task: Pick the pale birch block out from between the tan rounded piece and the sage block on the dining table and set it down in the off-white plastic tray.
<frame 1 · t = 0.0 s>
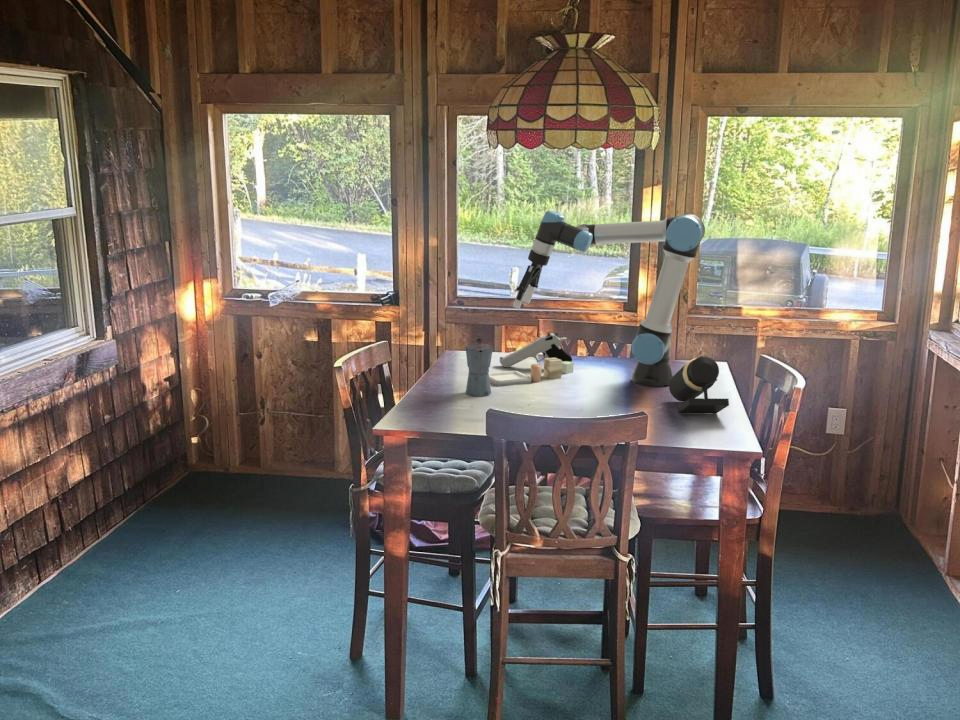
hand: (521, 305, 337), 28 cm above the table, tool tilted 20°, fingers open, 13 cm apart
tan rounded piece: (535, 381, 338), on the table
light fixture: (693, 410, 304), on the table
birch block: (552, 377, 344), on the table
handgun: (535, 369, 358), on the table
sage block: (565, 372, 352), on the table
tray: (507, 380, 337), on the table
moka pot: (477, 393, 319), on the table
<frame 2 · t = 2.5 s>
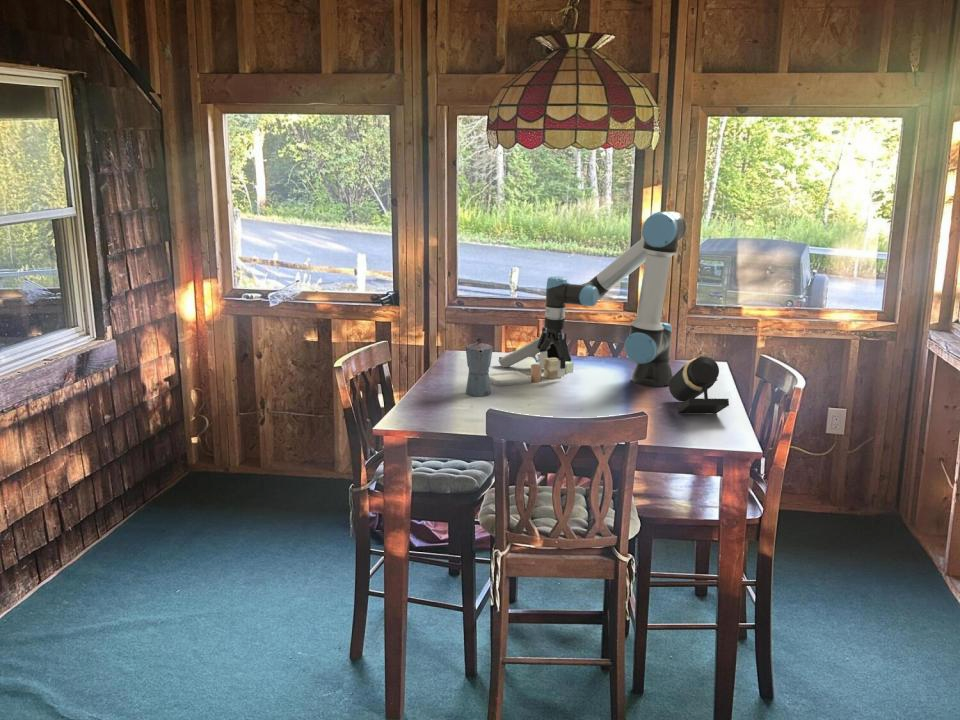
hand: (551, 372, 344), 2 cm above the table, tool pointing down, fingers open, 13 cm apart
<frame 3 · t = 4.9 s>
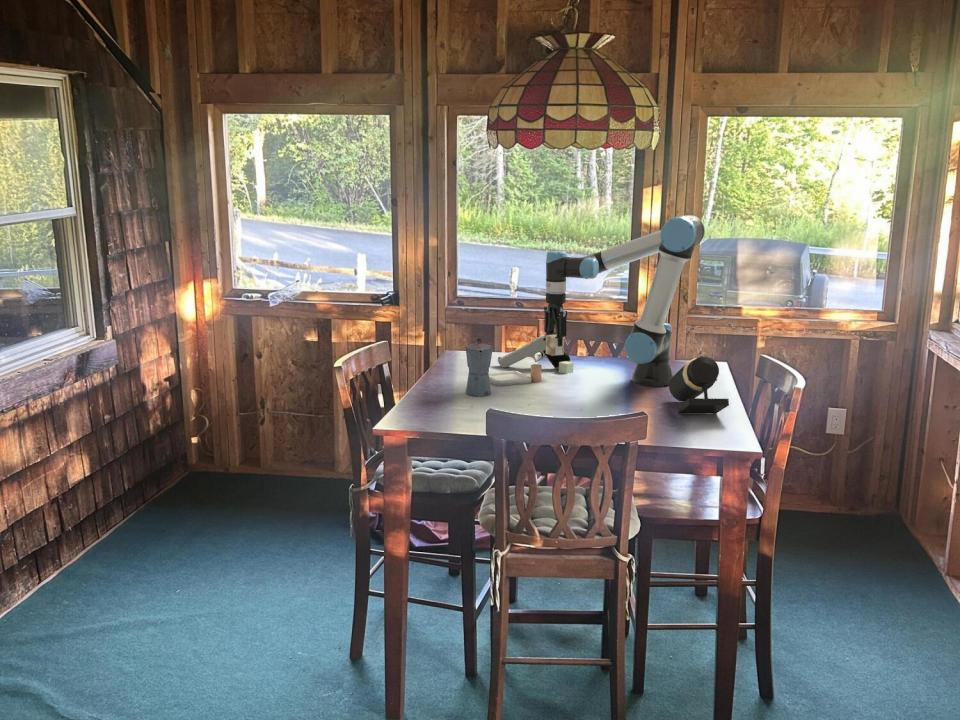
hand: (554, 353, 342), 10 cm above the table, tool pointing down, fingers closed on birch block, 5 cm apart
birch block: (554, 354, 342), point 9 cm above the table, touching gripper
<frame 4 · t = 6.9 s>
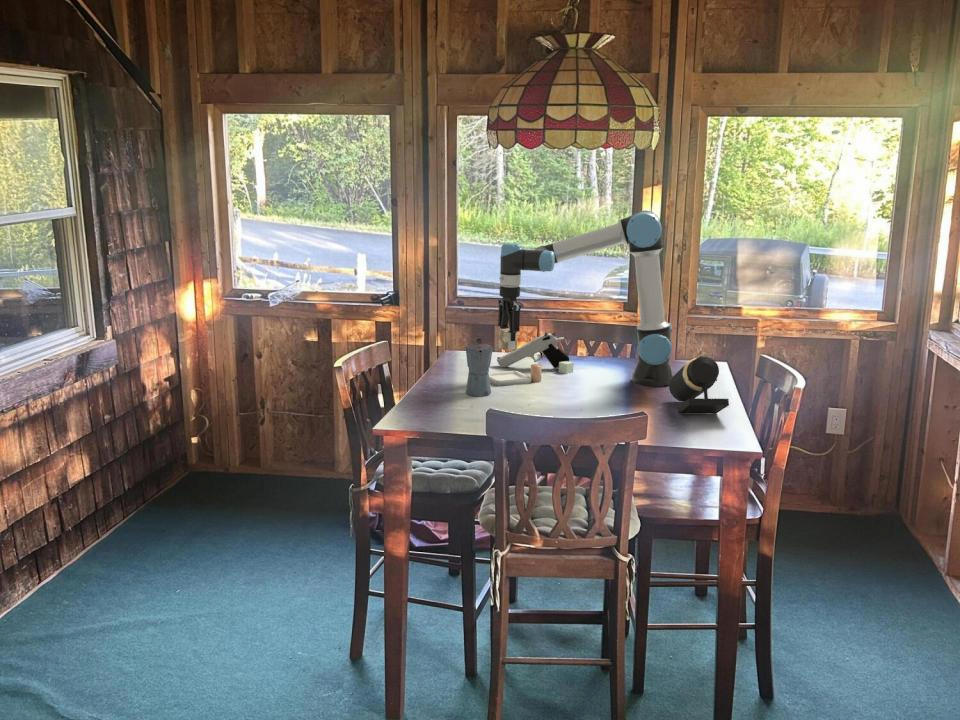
hand: (507, 347, 334), 13 cm above the table, tool pointing down, fingers closed on birch block, 5 cm apart
birch block: (507, 348, 334), point 12 cm above the table, touching gripper
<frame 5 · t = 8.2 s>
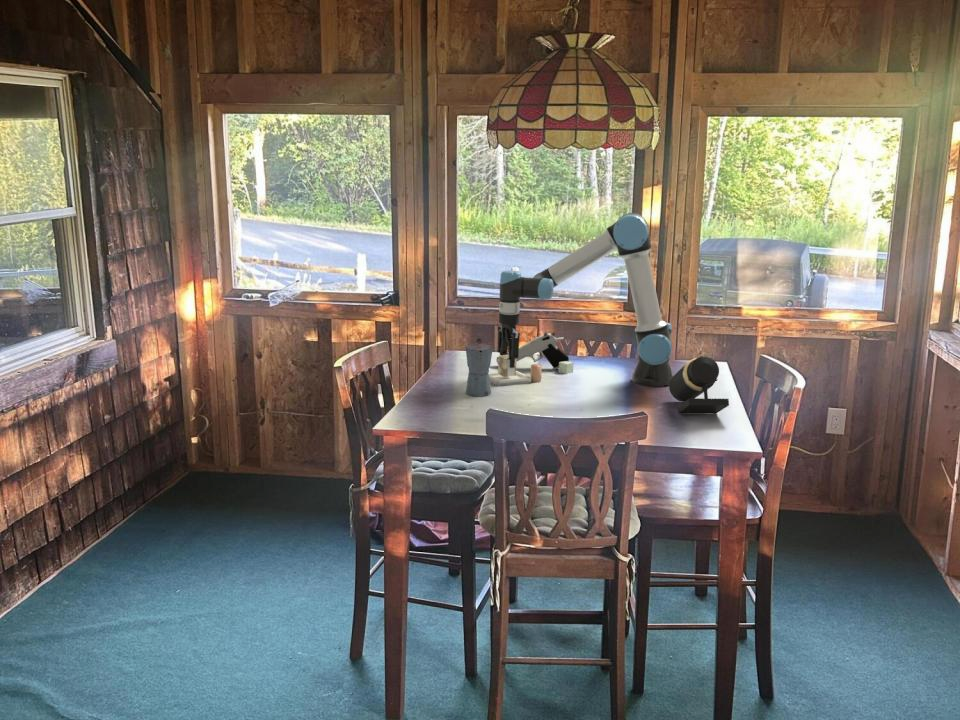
hand: (507, 374, 336), 3 cm above the table, tool pointing down, fingers closed on birch block, 5 cm apart
birch block: (506, 374, 336), point 2 cm above the table, touching gripper
when the fingers open (2 cm above the table, at t = 9.1 s): birch block stays where it is, resting on tray.
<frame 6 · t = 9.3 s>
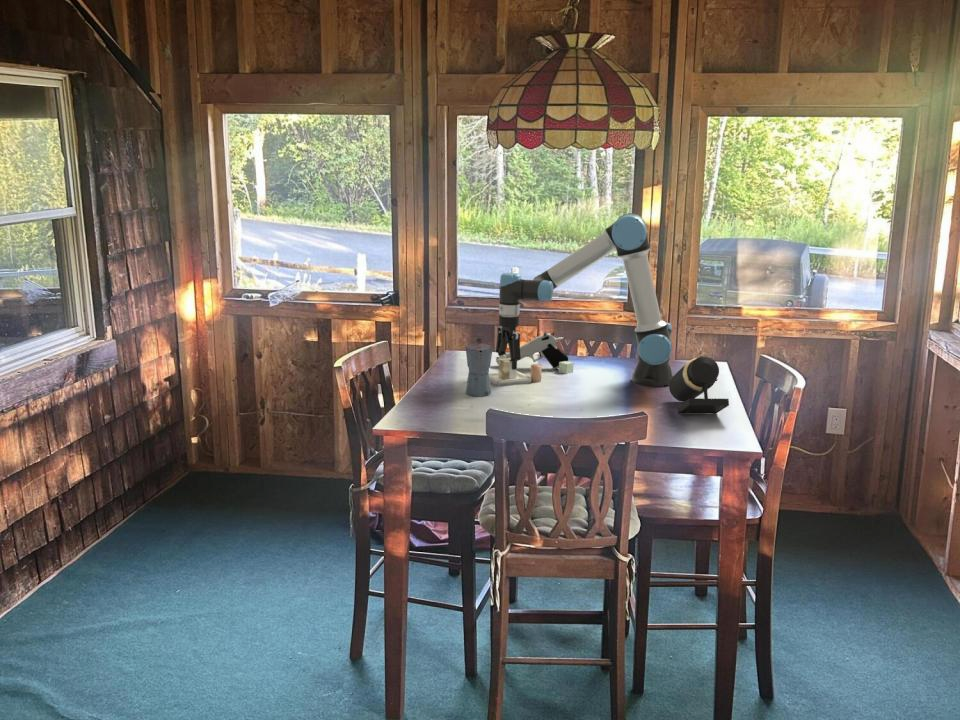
hand: (507, 374, 336), 2 cm above the table, tool pointing down, fingers open, 8 cm apart
birch block: (507, 378, 337), point 1 cm above the table, touching tray
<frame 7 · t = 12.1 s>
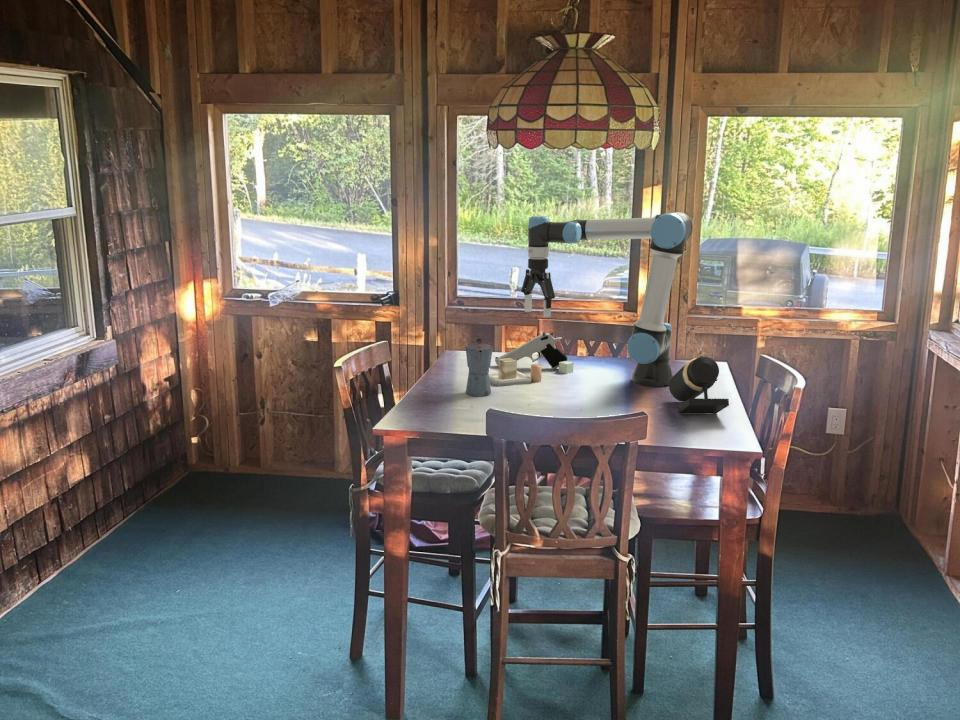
hand: (537, 314, 340), 24 cm above the table, tool pointing down, fingers open, 13 cm apart
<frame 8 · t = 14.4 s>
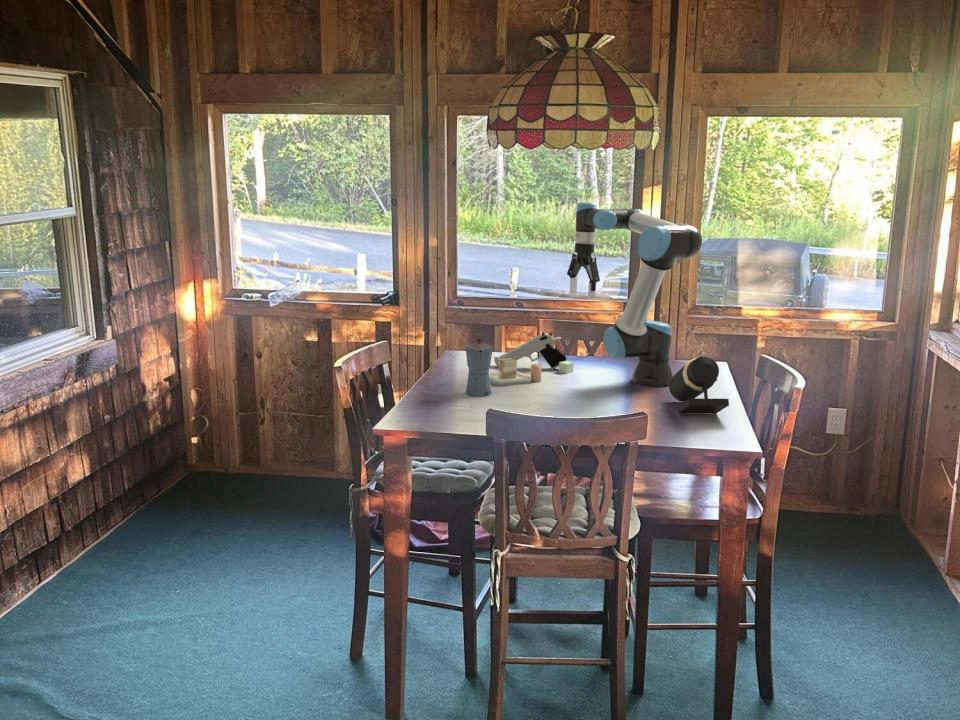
hand: (582, 296, 354), 29 cm above the table, tool pointing down, fingers open, 13 cm apart
at the end: birch block inside the target area on the tray (0.1 cm from its centre), point 1.0 cm above the tray's base; the gripper is holding nothing; tan rounded piece moved 0.0 cm from its start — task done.
